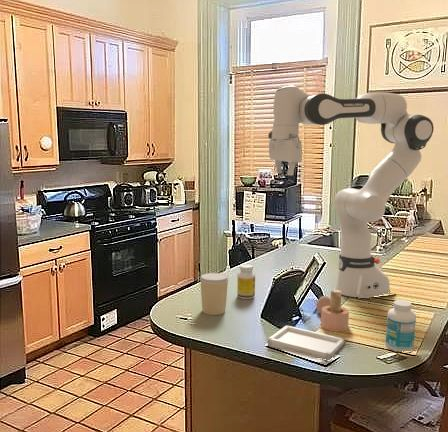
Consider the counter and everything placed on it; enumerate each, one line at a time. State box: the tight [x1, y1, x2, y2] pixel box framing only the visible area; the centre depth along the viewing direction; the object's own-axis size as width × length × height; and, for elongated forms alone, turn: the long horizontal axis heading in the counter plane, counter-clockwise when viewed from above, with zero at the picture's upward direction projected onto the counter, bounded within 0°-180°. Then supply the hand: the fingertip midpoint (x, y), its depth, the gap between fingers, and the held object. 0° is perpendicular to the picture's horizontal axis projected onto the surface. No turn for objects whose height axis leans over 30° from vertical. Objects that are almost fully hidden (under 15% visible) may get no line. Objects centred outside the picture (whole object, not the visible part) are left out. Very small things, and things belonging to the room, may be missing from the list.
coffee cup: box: [199, 272, 229, 316], centre depth 166 cm, size 9×9×12 cm
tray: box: [267, 324, 346, 360], centre depth 140 cm, size 18×12×2 cm, turn 57°
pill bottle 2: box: [385, 299, 417, 352], centre depth 138 cm, size 8×7×14 cm
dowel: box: [329, 289, 342, 313], centre depth 152 cm, size 3×3×11 cm
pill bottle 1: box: [236, 264, 256, 300], centre depth 182 cm, size 6×6×12 cm
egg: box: [315, 295, 330, 316], centre depth 163 cm, size 5×5×7 cm
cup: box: [320, 306, 350, 332], centre depth 153 cm, size 8×8×6 cm
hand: (284, 174), depth 174 cm, fingers open, 8 cm apart
